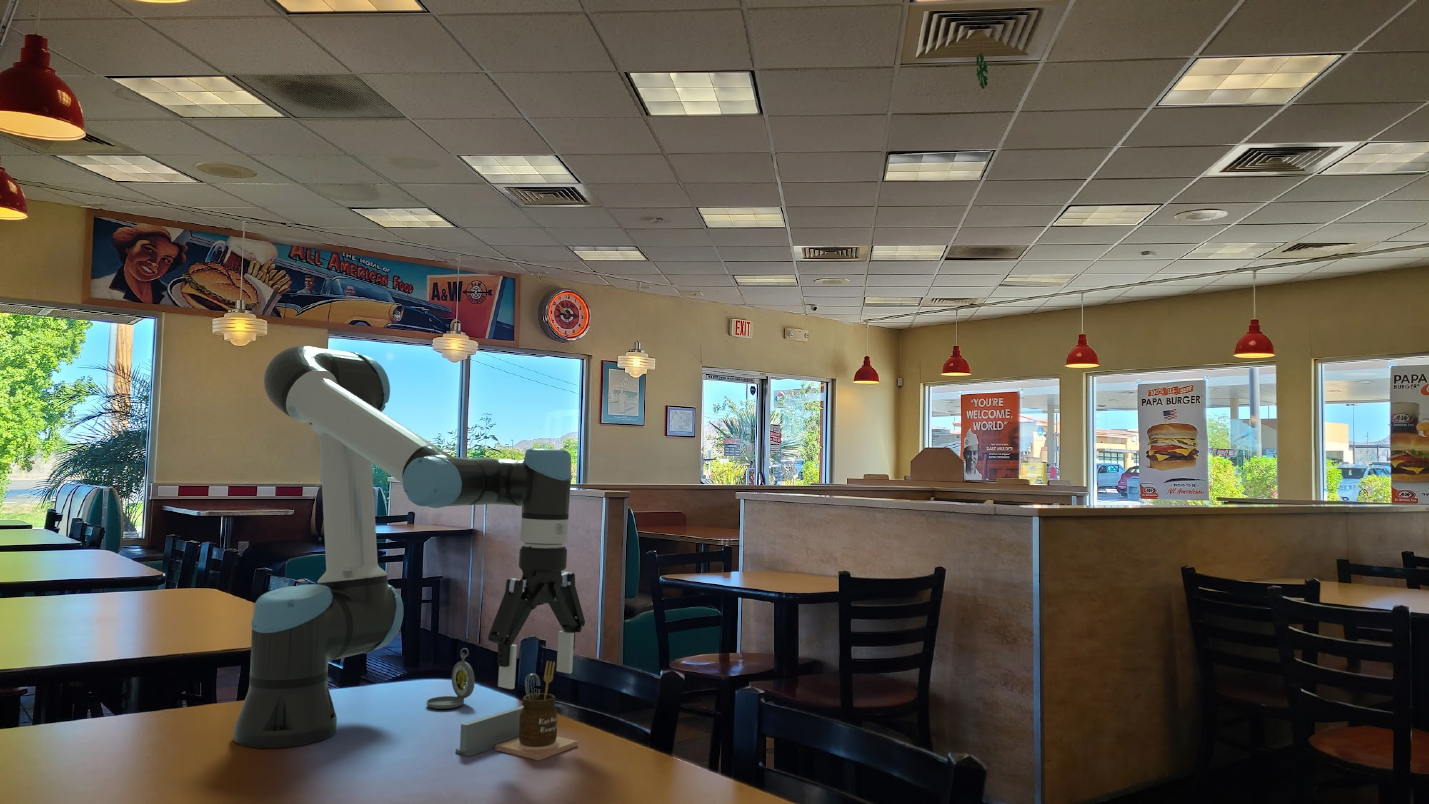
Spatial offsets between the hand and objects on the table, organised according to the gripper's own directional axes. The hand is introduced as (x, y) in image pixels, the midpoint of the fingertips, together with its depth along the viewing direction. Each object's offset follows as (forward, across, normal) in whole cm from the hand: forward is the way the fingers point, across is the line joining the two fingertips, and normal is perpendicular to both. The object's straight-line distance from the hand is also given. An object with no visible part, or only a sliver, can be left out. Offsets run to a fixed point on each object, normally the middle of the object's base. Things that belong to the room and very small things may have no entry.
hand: (536, 679), depth 150 cm
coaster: (+11, 0, -1) cm, 11 cm away
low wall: (+11, 0, +6) cm, 12 cm away
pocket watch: (+12, +11, +30) cm, 34 cm away
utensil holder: (+10, 0, -1) cm, 10 cm away
